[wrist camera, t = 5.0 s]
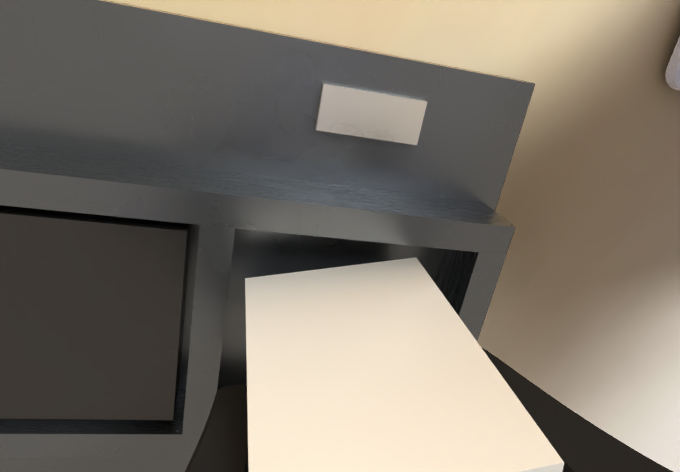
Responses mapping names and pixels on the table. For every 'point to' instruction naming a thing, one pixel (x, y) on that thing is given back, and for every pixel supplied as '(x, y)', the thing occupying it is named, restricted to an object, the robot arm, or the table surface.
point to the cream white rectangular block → (376, 379)
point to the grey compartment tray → (209, 209)
